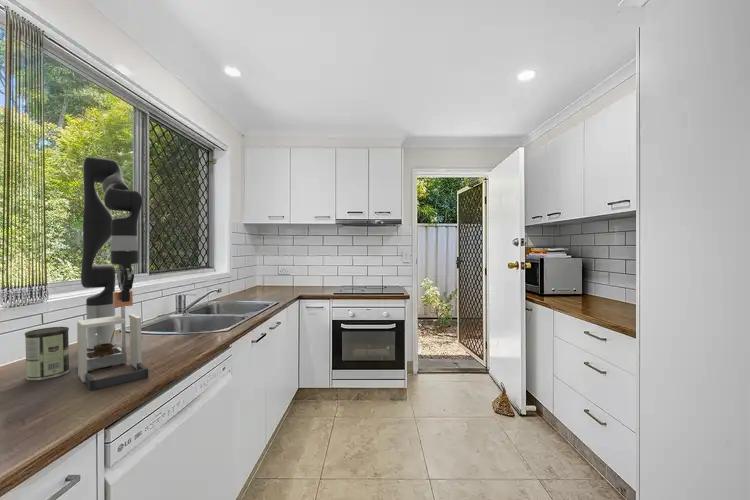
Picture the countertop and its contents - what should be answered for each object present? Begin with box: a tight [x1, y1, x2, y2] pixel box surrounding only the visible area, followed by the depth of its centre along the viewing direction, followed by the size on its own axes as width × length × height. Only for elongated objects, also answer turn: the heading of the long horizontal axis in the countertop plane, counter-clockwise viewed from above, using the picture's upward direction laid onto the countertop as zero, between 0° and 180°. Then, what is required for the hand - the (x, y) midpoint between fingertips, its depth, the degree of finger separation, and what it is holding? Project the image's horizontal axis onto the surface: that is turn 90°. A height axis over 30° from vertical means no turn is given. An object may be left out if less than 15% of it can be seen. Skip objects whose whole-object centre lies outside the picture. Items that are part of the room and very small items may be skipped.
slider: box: [87, 290, 134, 371], centre depth 123 cm, size 12×13×24 cm
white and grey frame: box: [76, 313, 143, 383], centre depth 115 cm, size 10×15×17 cm, turn 136°
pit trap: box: [84, 363, 149, 391], centre depth 109 cm, size 9×14×2 cm, turn 136°
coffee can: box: [24, 326, 70, 381], centre depth 114 cm, size 10×10×14 cm
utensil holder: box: [92, 328, 116, 369], centre depth 122 cm, size 6×6×12 cm
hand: (125, 301), depth 120 cm, fingers closed
